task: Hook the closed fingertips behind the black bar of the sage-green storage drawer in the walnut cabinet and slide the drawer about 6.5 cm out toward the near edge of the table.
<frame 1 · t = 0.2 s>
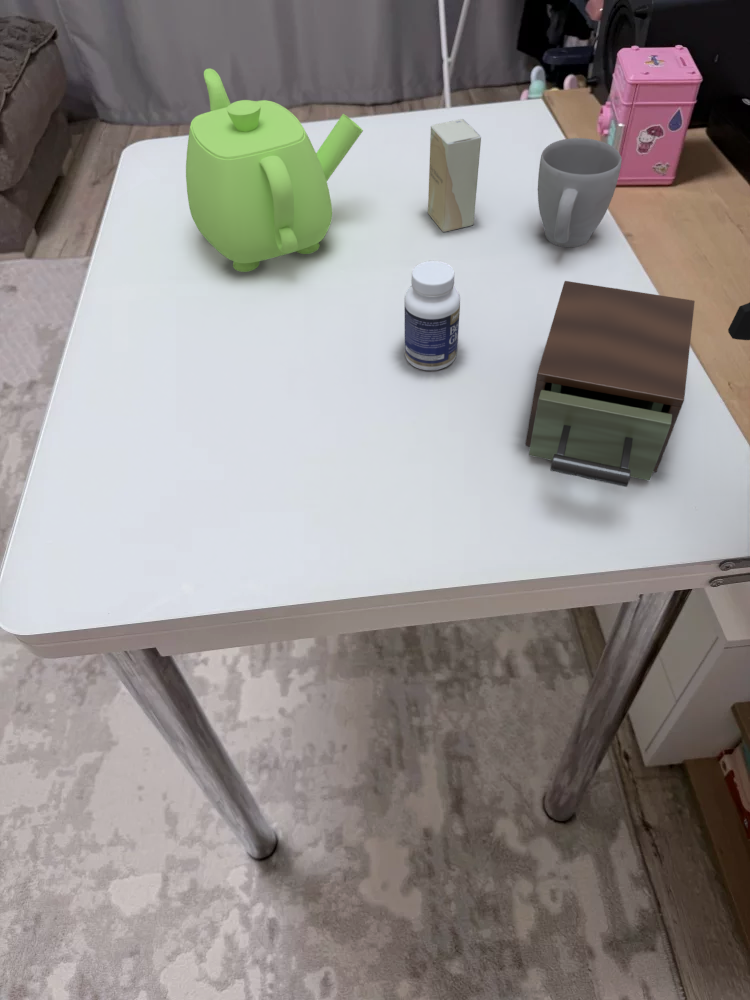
teapot: (282, 229, 93), on the table
mug: (564, 243, 89), on the table
drawer: (601, 410, 64), point 4 cm above the table, slide at 0.8 cm
box: (451, 221, 93), on the table
cabinet: (599, 408, 70), on the table
pill bottle: (430, 356, 76), on the table
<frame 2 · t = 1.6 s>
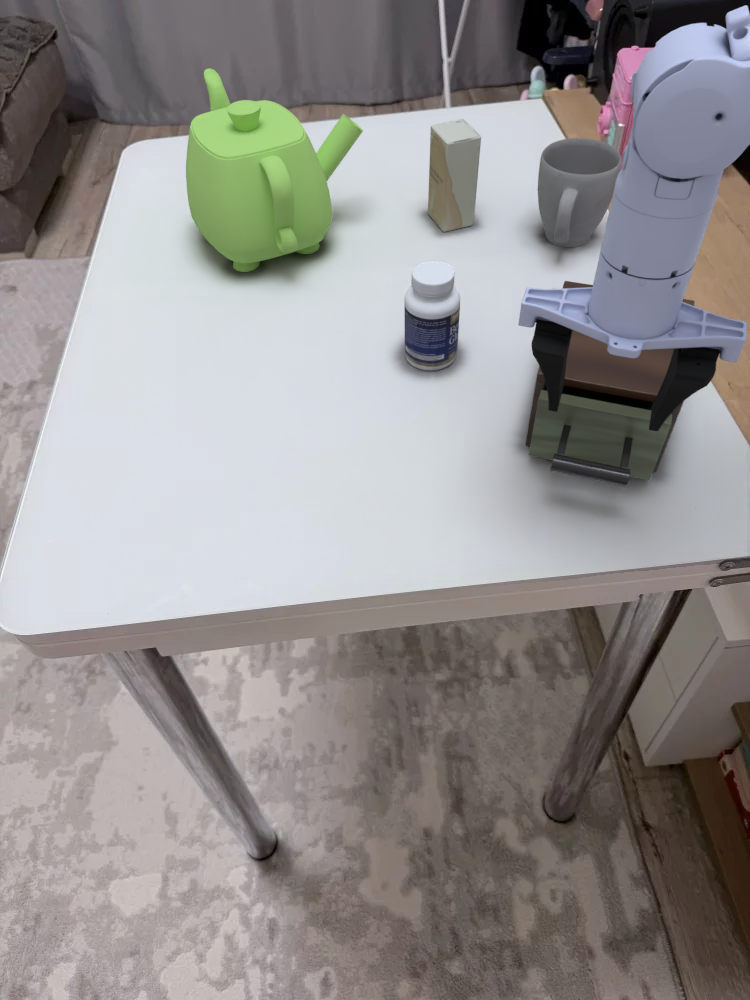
hand: (604, 412, 57), 9 cm above the table, tool pointing down, fingers open, 7 cm apart
nothing on the table moved.
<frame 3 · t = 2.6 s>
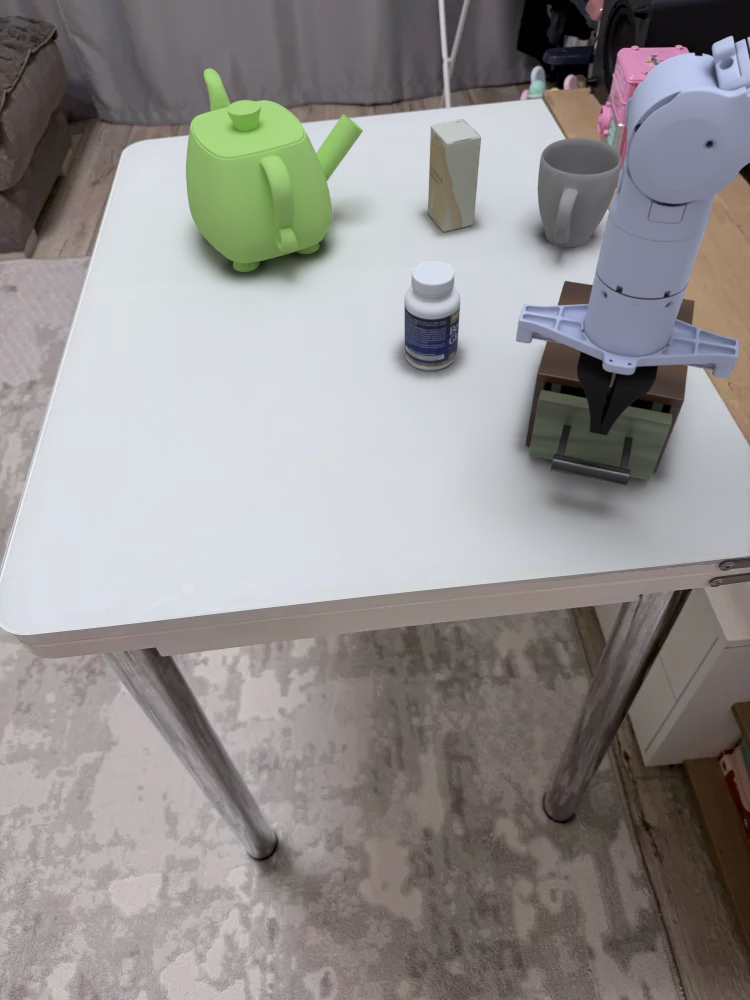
hand: (599, 425, 58), 8 cm above the table, tool pointing down, fingers closed
nothing on the table moved.
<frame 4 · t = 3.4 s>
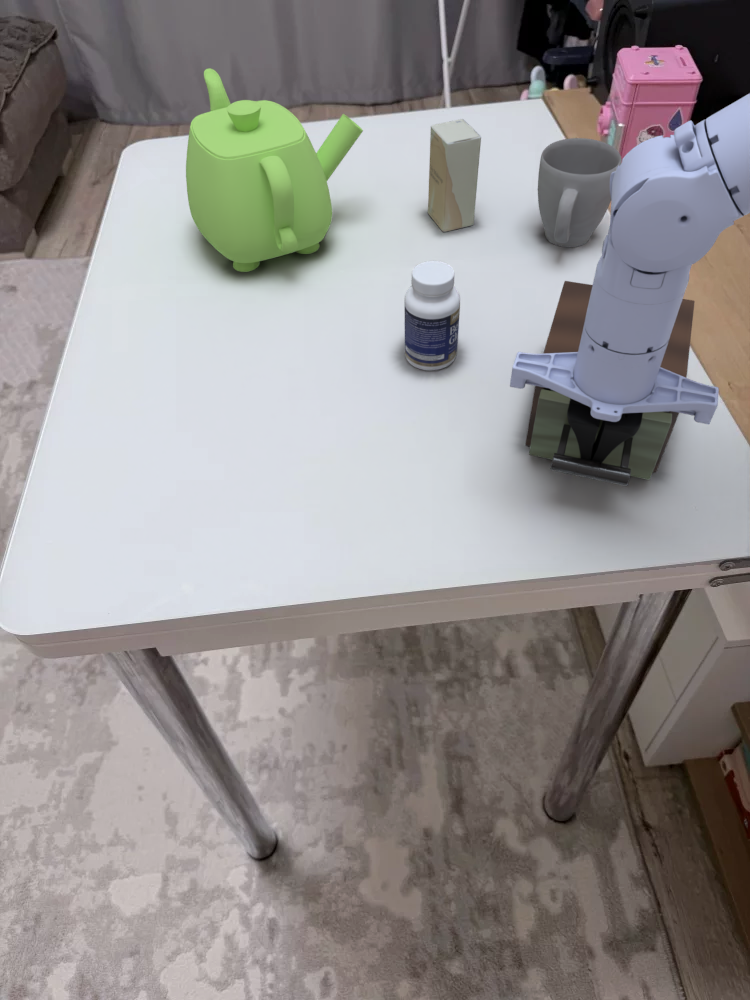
hand: (590, 462, 61), 4 cm above the table, tool pointing down, fingers closed, pressing on drawer
drawer: (601, 409, 64), point 4 cm above the table, slide at 0.7 cm, touching gripper
everything else where it was.
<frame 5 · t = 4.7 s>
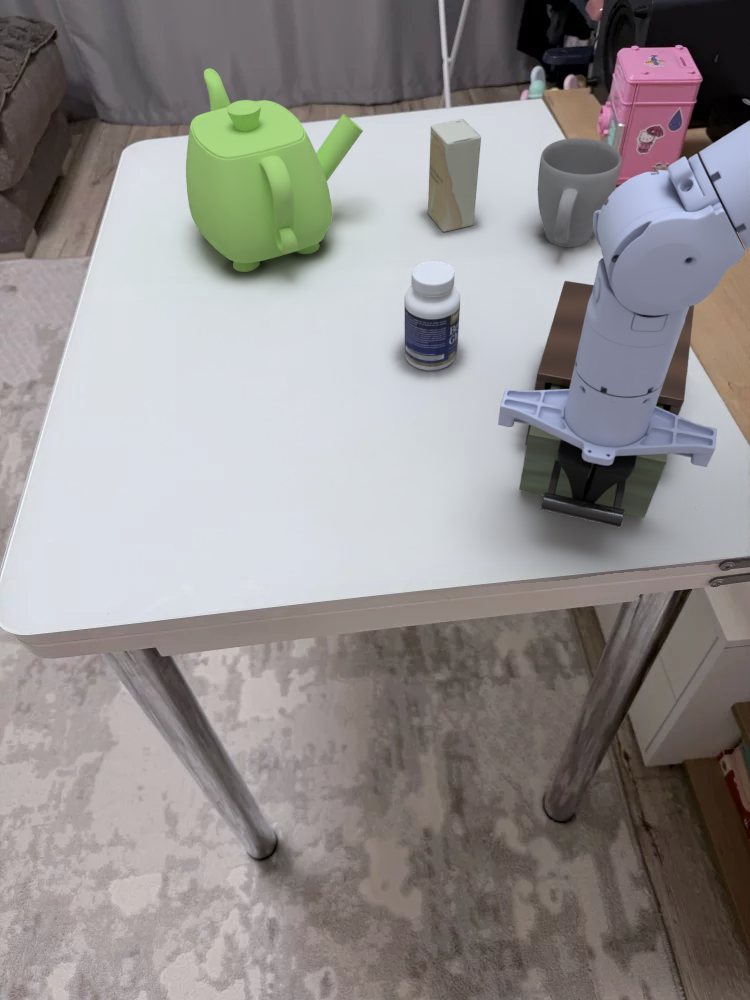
hand: (582, 501, 58), 4 cm above the table, tool pointing down, fingers closed, pressing on drawer
drawer: (594, 444, 61), point 4 cm above the table, slide at 5.0 cm, touching gripper
everything else where it was.
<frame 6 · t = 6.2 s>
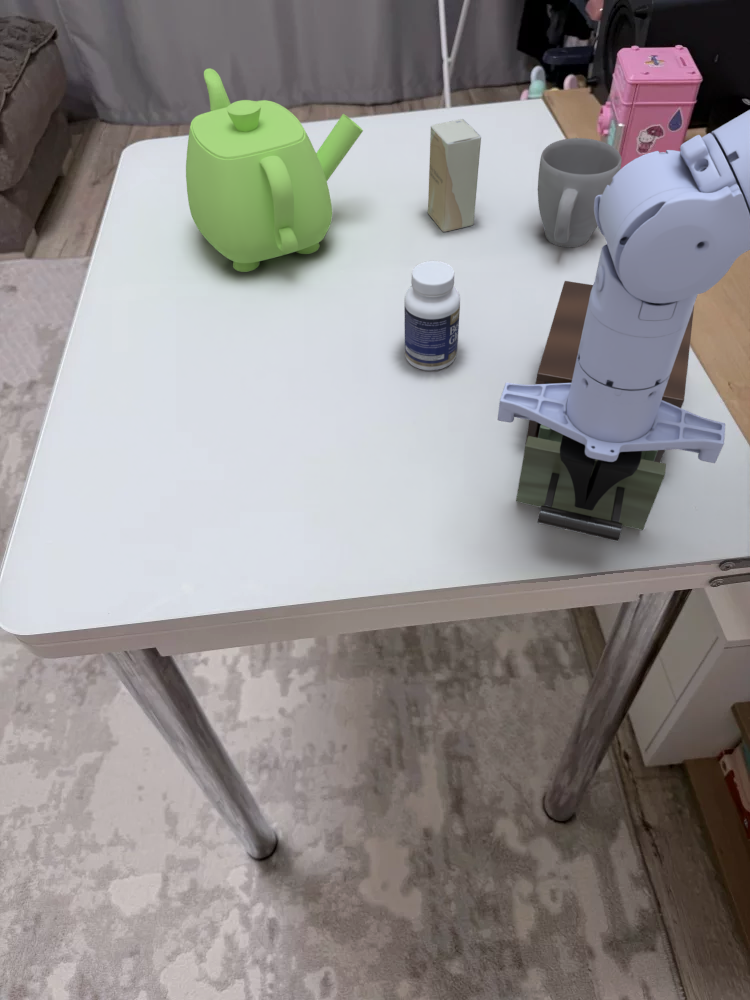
hand: (585, 499, 56), 5 cm above the table, tool pointing down, fingers closed
drawer: (592, 455, 61), point 4 cm above the table, slide at 6.3 cm
everything else where it was.
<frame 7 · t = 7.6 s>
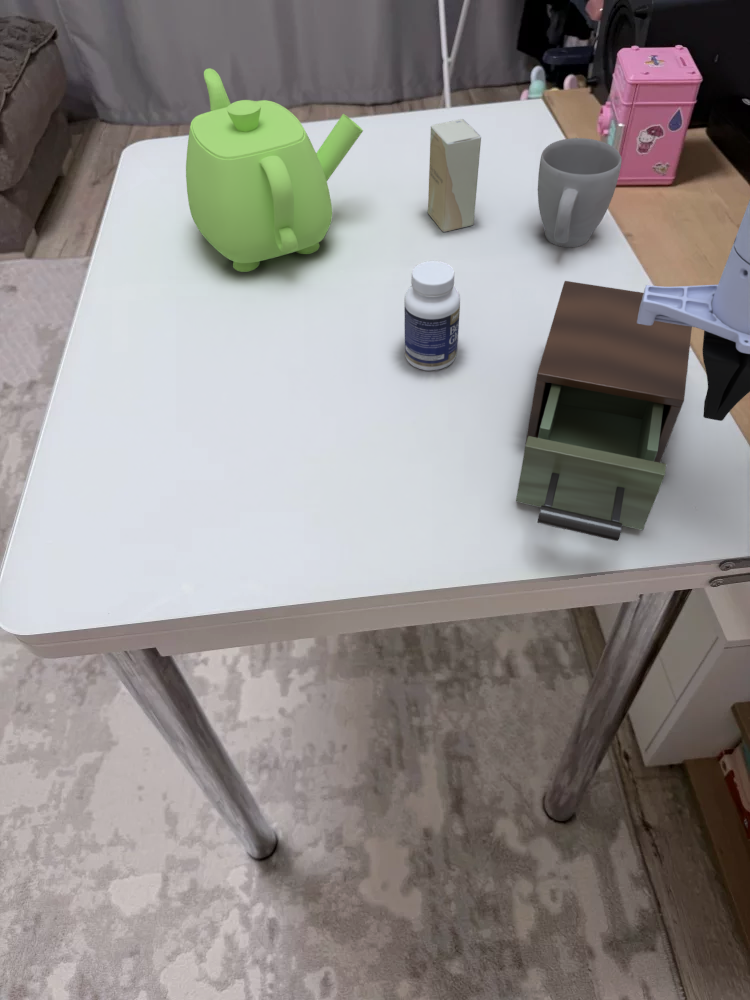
hand: (713, 410, 56), 9 cm above the table, tool pointing down, fingers closed
nothing on the table moved.
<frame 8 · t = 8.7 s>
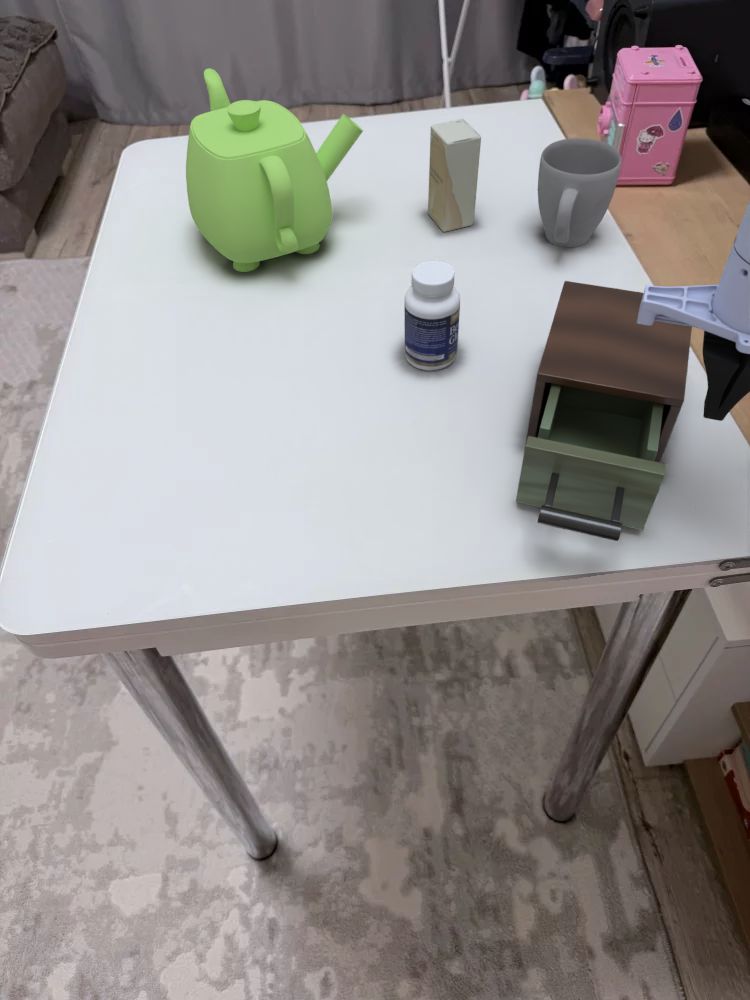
hand: (713, 410, 56), 9 cm above the table, tool pointing down, fingers closed
nothing on the table moved.
at the end: drawer slide at 6.3 cm; box moved 0.2 cm from its start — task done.
